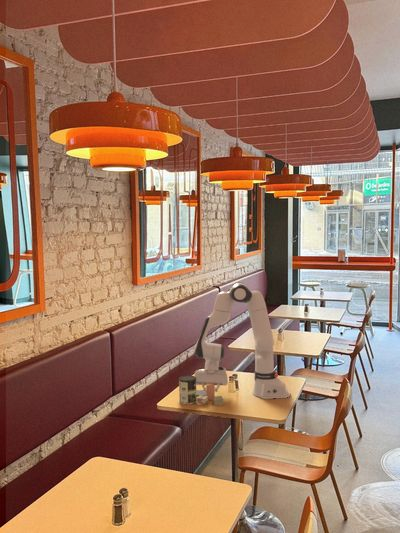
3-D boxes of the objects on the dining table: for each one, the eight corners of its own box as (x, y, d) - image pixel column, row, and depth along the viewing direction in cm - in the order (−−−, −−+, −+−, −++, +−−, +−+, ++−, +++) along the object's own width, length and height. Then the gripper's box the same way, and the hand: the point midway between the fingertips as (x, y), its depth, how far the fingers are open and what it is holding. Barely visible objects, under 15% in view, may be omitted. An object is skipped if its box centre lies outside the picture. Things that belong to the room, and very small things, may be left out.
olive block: (221, 401, 289) (221, 396, 289) (223, 404, 284) (223, 398, 284) (213, 402, 288) (213, 396, 288) (214, 405, 283) (214, 399, 283)
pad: (210, 391, 306) (210, 390, 306) (208, 396, 297) (208, 395, 297) (195, 391, 307) (195, 390, 307) (193, 396, 298) (193, 395, 298)
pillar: (214, 397, 296) (214, 382, 295) (214, 400, 291) (213, 385, 290) (207, 397, 296) (207, 382, 295) (206, 400, 292) (206, 385, 291)
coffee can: (196, 398, 295) (196, 375, 294) (196, 404, 285) (196, 380, 284) (179, 398, 295) (179, 375, 294) (178, 404, 285) (178, 380, 284)
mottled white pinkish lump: (208, 402, 287) (208, 396, 287) (204, 405, 283) (204, 399, 283) (200, 401, 289) (200, 395, 289) (196, 404, 285) (196, 397, 285)
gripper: (194, 367, 300) (192, 388, 291) (227, 367, 298) (227, 389, 289) (195, 372, 305) (193, 393, 296) (228, 373, 303) (227, 393, 294)
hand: (210, 391), depth 293 cm, fingers open, 5 cm apart
